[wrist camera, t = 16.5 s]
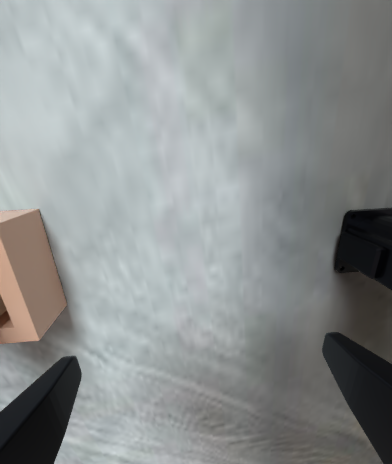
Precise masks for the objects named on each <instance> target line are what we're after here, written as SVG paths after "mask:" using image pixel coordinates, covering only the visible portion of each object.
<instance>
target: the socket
mask: <svg viewBox="0 0 392 464" xmlns="http://www.w3.org/2000/svg"><path fill="white" fill-rule="evenodd" d="M0 295H1V297H2V299H3V302H4V304H5V306H6V309H7V310H6V311H5V312H4V313H3V314H2V315H1V316H0V344H4V343H16V342H28V341H39V340H40V339H41V338H42V337H43V335H44V334H45V333H46V331H47V330H48V329H49V327H50V326H51V325H52V324H53V322H54V321H55V320H56V318H57V317H58V316H59V315H60V313H61V312H62V311H63V309H64V308H65V307H66V306H67V302H66V299H65V296H64V292H63V289H62V286H61V282H60V279H59V276H58V272H57V269H56V266H55V262H54V259H53V256H52V252H51V249H50V246H49V242H48V239H47V236H46V232H45V229H44V226H43V222H42V219H41V216H40V212H39V209H29V210H12V211H0Z"/></svg>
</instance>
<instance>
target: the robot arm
mask: <svg viewBox="0 0 392 464" xmlns="http://www.w3.org/2000/svg"><path fill="white" fill-rule="evenodd" d="M352 214H353V216H352V217H351V215H352ZM340 267H341V268H340ZM335 270H337V271H338V272H339V273H345V272H359V271H360V272H361V273H363V274H365V275H366V276H368V277H369V278H371V279H374V280H376V281H378V282H379V283H381V284H382V285H384V286H386V287H387V288H389V289H390V290H392V208H381V209H364V210H350V211H348V212H347V213H346V215H345V219H344V224H343V229H342V234H341V239H340V244H339V249H338V254H337V259H336V264H335ZM322 352H323V356H324V358H325V360H326V362H327V364H328V366H329V368H330V370H331V372H332V374H333V376H334V378H335V380H336V382H337V384H338V386H339V388H340V390H341V392H342V394H343V396H344V398H345V400H346V402H347V404H348V405H349V407H350V409H351V411H352V412H353V414H354V416H355V417H356V419H357V420H358V422H359V424H360V425H361V427H362V429H363V430H364V432H365V434H366V435H367V437H368V439H369V440H370V442H371V444H372V445H373V447H374V449H375V450H376V452H377V454H378V455H379V457H380V459H381V460H382V462H383V464H392V364H391V363H389V362H388V361H386V360H384V359H382V358H381V357H379V356H377V355H376V354H374V353H372V352H371V351H369V350H367V349H366V348H364V347H362V346H361V345H359V344H357V343H356V342H354V341H352V340H351V339H349V338H347V337H346V336H344V335H342V334H340V333H338V332H331V333H326V335H325V338H324V343H323V348H322ZM81 375H82V374H81V369H80V366H79V363H78V360H77V357H76V356H66V357H62V358H61V359H60V360H59V361H57V362H56V363H55V364H54V365H53V366H52V367H51V368H49V369H48V370H47V371H46V372H45V373H44V374H43V375H42V376H40V377H39V378H38V379H37V380H36V381H35V382H34V383H33V384H31V385H30V386H29V387H28V388H27V389H26V390H25V391H23V392H22V393H21V394H20V395H19V396H18V397H17V398H16V399H14V400H13V401H12V402H11V403H10V404H9V405H8V406H7V407H5V408H4V409H3V410H2V411H1V412H0V464H54V462H55V459H56V456H57V454H58V451H59V449H60V446H61V443H62V441H63V438H64V435H65V432H66V429H67V426H68V422H69V419H70V415H71V412H72V409H73V405H74V402H75V398H76V395H77V391H78V388H79V385H80V381H81Z"/></svg>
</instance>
